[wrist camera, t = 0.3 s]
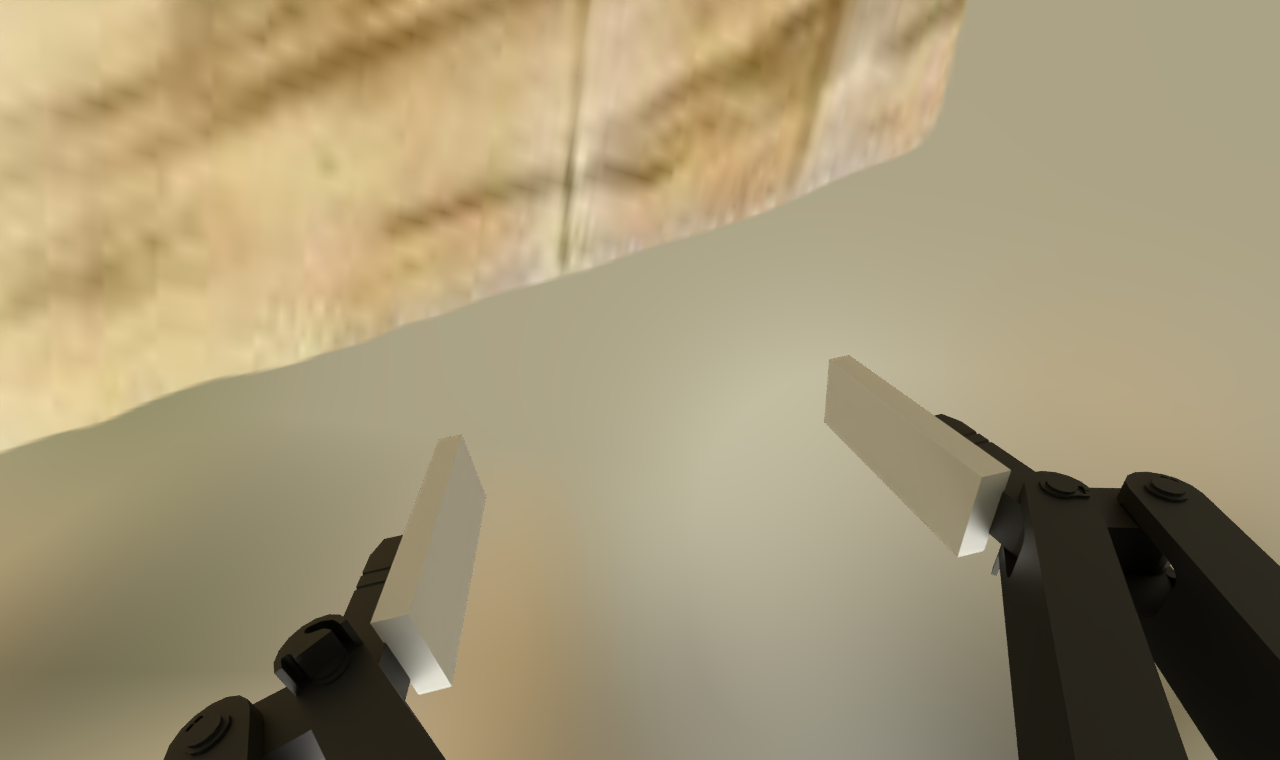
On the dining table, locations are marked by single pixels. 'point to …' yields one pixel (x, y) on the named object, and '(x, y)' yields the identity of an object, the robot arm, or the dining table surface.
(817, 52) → the dining table surface
